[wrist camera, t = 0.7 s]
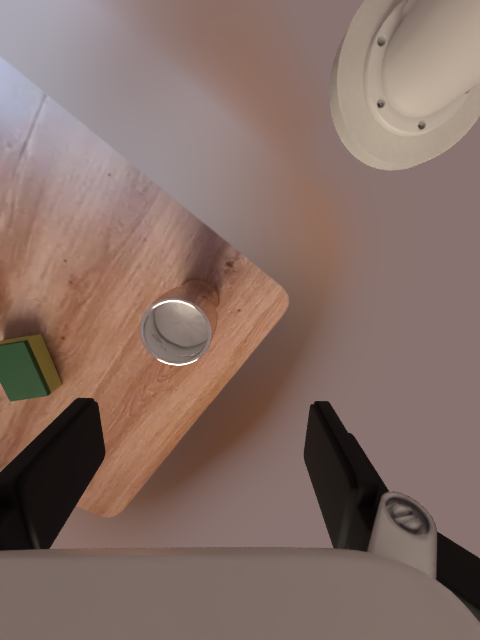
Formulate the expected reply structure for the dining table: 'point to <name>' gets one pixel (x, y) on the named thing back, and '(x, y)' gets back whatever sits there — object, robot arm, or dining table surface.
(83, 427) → the robot arm
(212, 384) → the dining table surface
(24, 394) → the sponge
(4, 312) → the dining table surface
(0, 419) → the dining table surface
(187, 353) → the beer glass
